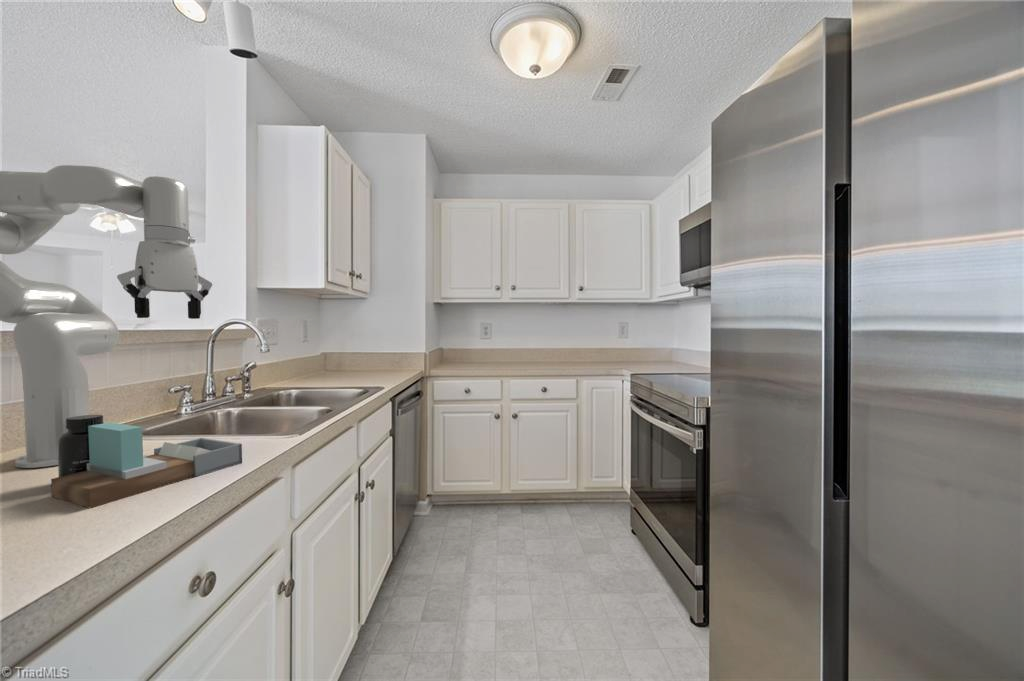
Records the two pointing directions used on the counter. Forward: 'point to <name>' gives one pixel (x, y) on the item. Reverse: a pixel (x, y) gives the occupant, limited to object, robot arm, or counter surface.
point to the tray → (213, 455)
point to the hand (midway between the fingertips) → (169, 318)
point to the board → (118, 483)
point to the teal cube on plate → (119, 451)
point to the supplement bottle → (76, 444)
